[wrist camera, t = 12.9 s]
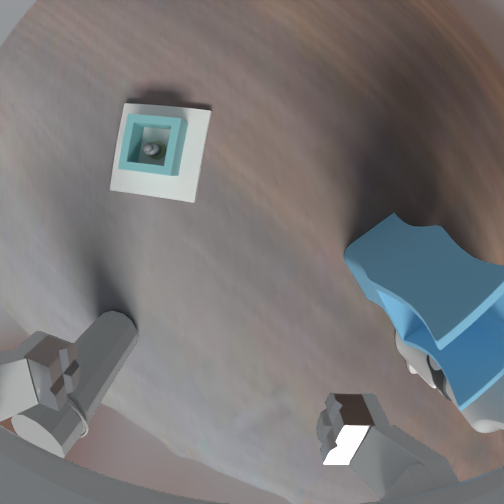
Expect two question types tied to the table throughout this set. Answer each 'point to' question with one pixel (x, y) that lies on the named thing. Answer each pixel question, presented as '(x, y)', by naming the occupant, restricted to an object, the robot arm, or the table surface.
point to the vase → (436, 300)
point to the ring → (134, 139)
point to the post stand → (164, 154)
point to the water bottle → (81, 386)
